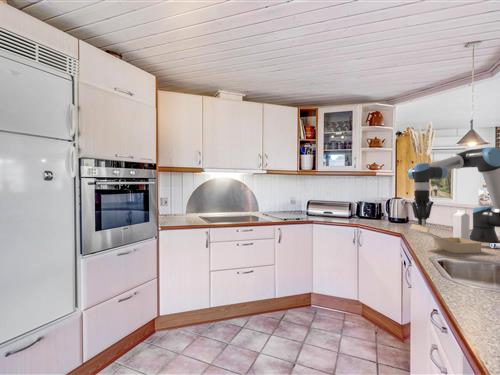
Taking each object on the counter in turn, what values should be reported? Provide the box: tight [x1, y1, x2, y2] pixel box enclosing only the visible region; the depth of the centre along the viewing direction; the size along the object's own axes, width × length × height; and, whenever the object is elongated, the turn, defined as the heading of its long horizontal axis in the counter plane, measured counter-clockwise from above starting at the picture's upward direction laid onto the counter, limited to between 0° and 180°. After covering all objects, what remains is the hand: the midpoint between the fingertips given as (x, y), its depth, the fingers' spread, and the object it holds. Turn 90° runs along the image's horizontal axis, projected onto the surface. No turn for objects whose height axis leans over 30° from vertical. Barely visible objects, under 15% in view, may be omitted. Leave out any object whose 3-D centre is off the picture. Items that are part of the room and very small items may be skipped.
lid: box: [409, 223, 456, 243], centre depth 167 cm, size 17×17×3 cm
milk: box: [452, 209, 471, 240], centre depth 183 cm, size 6×6×22 cm
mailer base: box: [433, 236, 482, 255], centre depth 168 cm, size 16×16×6 cm
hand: (421, 230), depth 166 cm, fingers closed
